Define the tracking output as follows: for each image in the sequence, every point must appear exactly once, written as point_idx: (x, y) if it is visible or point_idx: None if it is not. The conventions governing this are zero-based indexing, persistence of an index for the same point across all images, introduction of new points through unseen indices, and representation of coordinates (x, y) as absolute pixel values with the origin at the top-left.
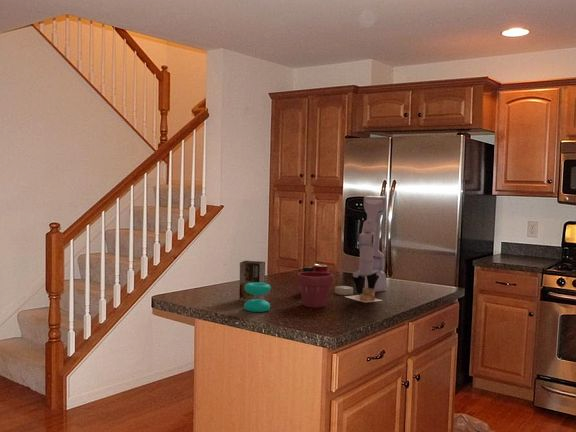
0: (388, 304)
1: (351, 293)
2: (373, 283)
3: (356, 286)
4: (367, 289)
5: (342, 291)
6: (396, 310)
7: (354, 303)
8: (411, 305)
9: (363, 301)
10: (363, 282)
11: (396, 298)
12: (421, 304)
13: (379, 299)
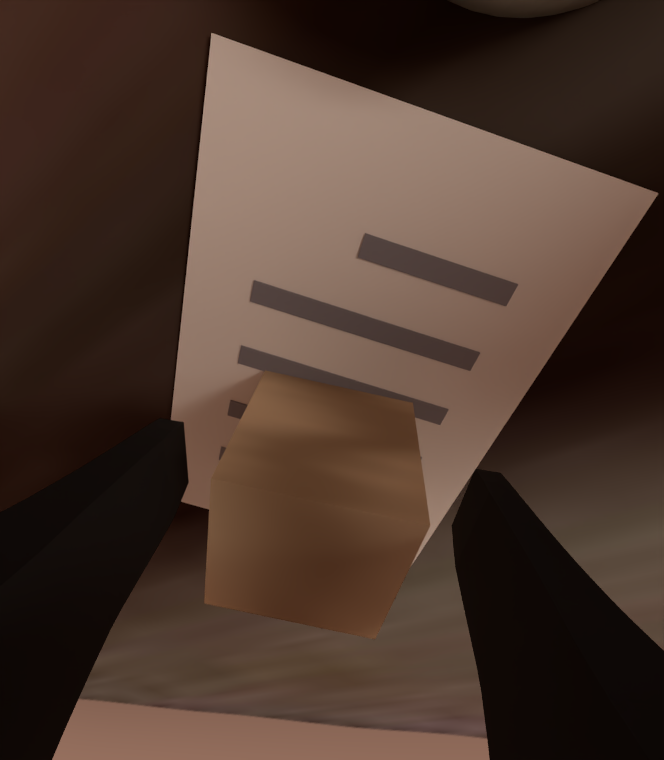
0: (293, 625)
1: (534, 7)
2: (489, 703)
3: (55, 503)
4: (259, 582)
5: None
6: (171, 687)
7: (34, 431)
8: (395, 710)
9: (191, 461)
10: (48, 734)
11: (632, 604)
12: (479, 736)
13: (435, 528)
